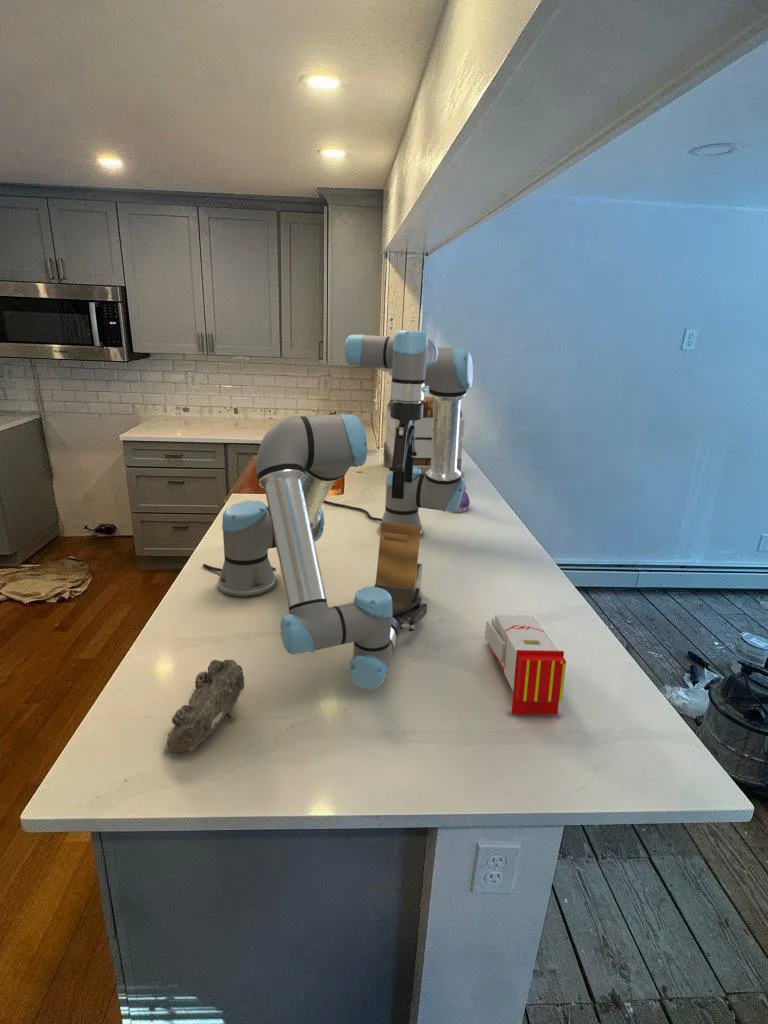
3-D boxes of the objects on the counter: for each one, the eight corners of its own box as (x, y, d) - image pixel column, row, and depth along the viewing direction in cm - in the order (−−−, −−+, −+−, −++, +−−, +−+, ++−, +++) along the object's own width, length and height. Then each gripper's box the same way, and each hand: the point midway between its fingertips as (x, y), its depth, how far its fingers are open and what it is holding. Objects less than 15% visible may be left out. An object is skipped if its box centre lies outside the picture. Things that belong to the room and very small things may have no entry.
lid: (382, 522, 142) (375, 524, 134) (421, 526, 141) (417, 529, 132) (376, 582, 143) (369, 588, 135) (415, 587, 142) (410, 594, 133)
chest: (385, 587, 160) (386, 559, 157) (420, 592, 158) (422, 563, 155) (374, 615, 146) (375, 584, 143) (412, 620, 145) (414, 590, 141)
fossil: (192, 660, 117) (244, 628, 112) (224, 691, 120) (276, 661, 115) (142, 746, 98) (202, 712, 93) (182, 779, 101) (242, 748, 96)
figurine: (456, 514, 221) (459, 477, 216) (441, 506, 229) (444, 470, 224) (475, 511, 225) (479, 475, 220) (461, 503, 234) (464, 468, 229)
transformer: (382, 463, 289) (386, 382, 275) (445, 464, 293) (451, 384, 279) (390, 482, 257) (394, 392, 243) (460, 483, 261) (468, 394, 247)
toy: (530, 600, 137) (574, 657, 108) (525, 651, 140) (567, 720, 111) (480, 599, 137) (511, 656, 107) (477, 651, 139) (506, 719, 110)
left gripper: (331, 643, 129) (354, 597, 150) (429, 657, 126) (439, 608, 146) (331, 614, 127) (355, 572, 147) (432, 627, 123) (441, 582, 144)
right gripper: (416, 411, 117) (410, 507, 125) (429, 394, 140) (424, 477, 148) (380, 408, 119) (376, 504, 126) (399, 392, 142) (395, 474, 149)
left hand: (397, 590), depth 147 cm, fingers closed on chest, 10 cm apart
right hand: (402, 489), depth 137 cm, fingers open, 13 cm apart
